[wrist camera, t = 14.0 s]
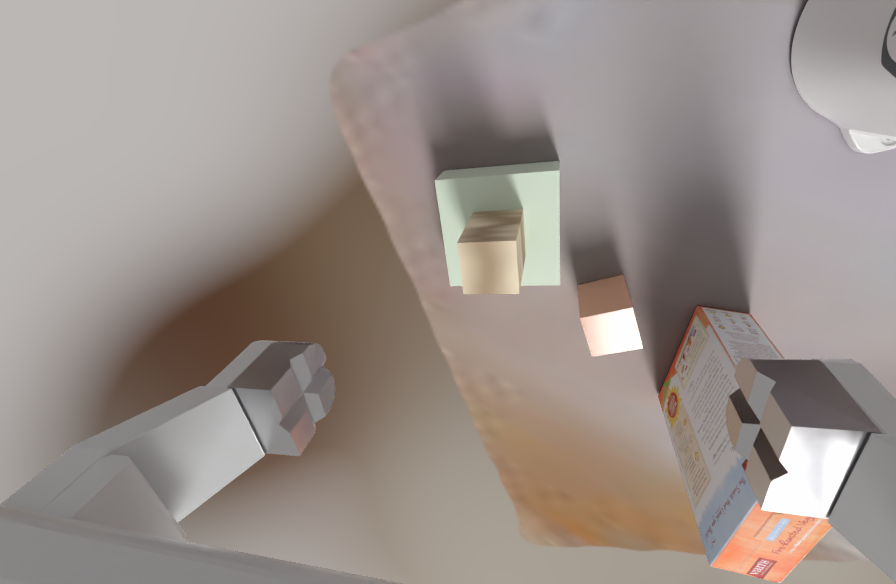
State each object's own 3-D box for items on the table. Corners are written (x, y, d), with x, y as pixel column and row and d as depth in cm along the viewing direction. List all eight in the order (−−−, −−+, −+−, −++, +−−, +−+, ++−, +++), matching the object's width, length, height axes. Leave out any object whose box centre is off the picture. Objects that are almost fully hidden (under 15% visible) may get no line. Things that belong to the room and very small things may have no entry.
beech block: (523, 209, 40) (516, 240, 34) (525, 255, 43) (519, 293, 36) (473, 212, 42) (456, 242, 35) (478, 256, 44) (463, 293, 37)
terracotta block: (623, 274, 46) (632, 307, 40) (632, 311, 47) (642, 348, 42) (577, 285, 47) (580, 318, 42) (588, 320, 49) (592, 356, 43)
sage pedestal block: (559, 160, 41) (559, 170, 38) (560, 268, 47) (560, 285, 43) (444, 170, 44) (434, 180, 41) (457, 270, 50) (450, 286, 47)
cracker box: (706, 405, 51) (782, 589, 34) (655, 395, 52) (703, 568, 35) (756, 312, 44) (886, 484, 27) (696, 302, 45) (782, 462, 28)
